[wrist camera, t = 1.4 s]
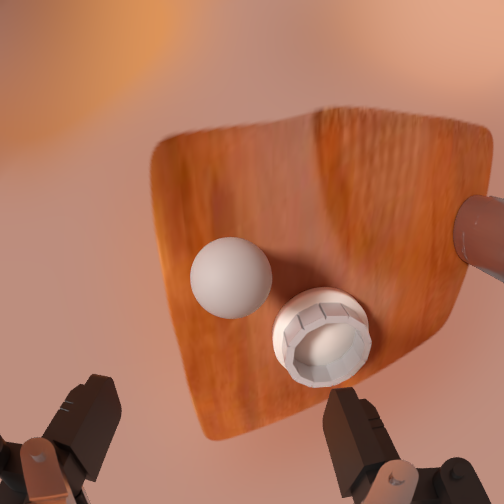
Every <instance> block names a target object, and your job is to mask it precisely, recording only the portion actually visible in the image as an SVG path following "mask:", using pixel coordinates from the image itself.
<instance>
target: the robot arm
mask: <svg viewBox="0 0 504 504" xmlns="http://www.w3.org/2000/svg"><path fill="white" fill-rule="evenodd" d="M453 239H454V246H455V249H456V252H457V254H458V256H459V257H460V258H461V259H462V260H463V261H465V262H466V263H468V264H470V265H472V266H474V267H476V268H478V269H480V270H482V271H483V272H485V273H487V274H489V275H491V276H493V277H494V278H496V279H498V280H500V281H502V282H503V283H504V199H502V198H498V197H493V196H489V197H486V196H481V195H474V196H471V197H470V198H468V199H467V200H466V201H465V202H464V203H463V205H462V206H461V208H460V209H459V212H458V214H457V217H456V220H455V224H454V235H453ZM121 412H122V410H121V404H120V401H119V398H118V394H117V391H116V388H115V385H114V381H113V379H112V378H111V377H107V376H101V375H97V374H92V375H91V376H90V377H89V379H88V380H87V382H86V383H85V385H83V384H80V385H78V386H77V387H75V388H74V389H73V390H71V391H70V393H69V394H68V396H67V397H66V399H65V402H63V404H62V405H61V407H60V410H58V411H57V413H56V415H55V416H54V418H53V419H52V421H51V423H50V424H49V426H48V427H47V429H46V431H45V432H44V434H43V436H42V437H34V438H31V439H29V440H27V441H26V442H25V443H24V444H17V443H11V442H5V441H4V439H3V438H2V437H1V435H0V478H1V479H2V481H1V483H0V504H91V503H90V501H89V499H88V496H87V494H86V492H85V489H84V487H83V482H84V480H85V479H87V480H90V481H93V482H96V479H97V476H98V474H99V471H100V468H101V466H102V463H103V461H104V458H105V456H106V453H107V451H108V448H109V445H110V443H111V441H112V438H113V436H114V433H115V431H116V428H117V426H118V424H119V421H120V418H121ZM323 431H324V434H325V438H326V441H327V444H328V448H329V452H330V456H331V459H332V463H333V466H334V470H335V473H336V477H337V481H338V484H339V488H340V492H341V495H342V498H345V497H350V496H352V497H353V500H354V504H491V502H490V500H489V498H488V496H487V494H486V492H485V490H484V488H483V486H482V484H481V482H480V480H479V478H478V476H477V474H476V472H475V470H474V468H473V467H472V465H471V464H470V463H469V462H468V461H467V460H465V459H463V458H459V457H456V458H451V459H449V460H447V461H446V462H445V463H444V464H443V465H442V466H441V467H439V468H423V469H422V468H415V467H414V465H413V464H411V463H410V462H407V461H404V460H401V459H400V457H399V455H398V453H397V451H396V449H395V447H394V445H393V443H392V440H391V438H390V436H389V434H388V432H387V430H386V428H384V424H383V422H382V420H381V419H380V416H379V414H378V412H377V410H376V408H375V407H374V406H373V405H372V404H371V403H370V402H369V401H367V400H366V399H358V397H357V394H356V392H355V390H354V389H353V388H352V387H347V388H337V389H332V390H331V392H330V395H329V398H328V402H327V405H326V408H325V412H324V415H323Z"/></svg>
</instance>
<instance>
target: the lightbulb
mask: <svg viewBox="0 0 504 504" xmlns="http://www.w3.org/2000/svg"><path fill="white" fill-rule="evenodd" d="M190 279H191V287H192V291H193V293H194V295H195V297H196V299H197V301H198V302H199V303H200V305H201V306H202V307H203V308H204V309H205V310H207V311H208V312H210V313H211V314H213V315H215V316H218V317H221V318H227V319H236V318H242V317H245V316H247V315H250V314H251V313H253V312H255V311H256V310H257V309H258V308H259V307H260V306H261V305H262V304H263V303H264V302H265V300H266V299H267V297H268V295H269V292H270V289H271V285H272V271H271V266H270V264H269V261H268V259H267V257H266V256H265V254H264V253H263V251H262V250H261V249H260V248H258V247H257V246H256V245H255V244H253V243H251V242H250V241H247V240H244V239H242V238H236V237H226V238H221V239H217V240H215V241H213V242H210V243H209V244H208V245H206V246H205V247H204V248H203V249H202V250H201V251H200V252H199V253H198V255H197V256H196V258H195V260H194V262H193V265H192V267H191V274H190Z"/></svg>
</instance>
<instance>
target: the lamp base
mask: <svg viewBox="0 0 504 504" xmlns="http://www.w3.org/2000/svg"><path fill="white" fill-rule="evenodd" d="M368 331H369V324H368V319H367V316H366V314H365V312H364V310H363V309H362V307H361V306H360V305H359V303H358V302H357V301H356V300H355V299H354V298H353V297H352V296H351V295H350V294H349V293H347V292H345V291H343V290H341V289H338V288H333V287H318V288H312V289H309V290H306V291H304V292H301V293H299V294H298V295H296V296H294V297H293V298H292V299H290V300H289V301H288V302H287V303H286V304H285V305H284V306H283V307H282V308H281V309H280V311H279V312H278V314H277V316H276V318H275V320H274V323H273V328H272V339H273V346H274V351H275V354H276V357H277V359H278V360H279V362H280V363H281V364H282V365H283V366H284V367H285V368H286V369H287V370H288V372H289V373H290V375H291V376H292V378H293V380H294V379H295V381H297V382H299V383H301V384H304V385H306V386H308V387H311V386H312V388H315V387H330V386H332V384H333V386H334V385H336V384H338V383H341V382H343V381H345V380H347V379H349V378H351V375H352V376H354V374H355V373H356V372H357V371H358V370H359V369H360V368H361V367H362V366H363V365H364V364H365V362H366V361H365V360H367V359H368V355H369V352H370V348H371V345H372V343H371V342H372V341H371V338H370V335H369V332H368Z"/></svg>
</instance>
